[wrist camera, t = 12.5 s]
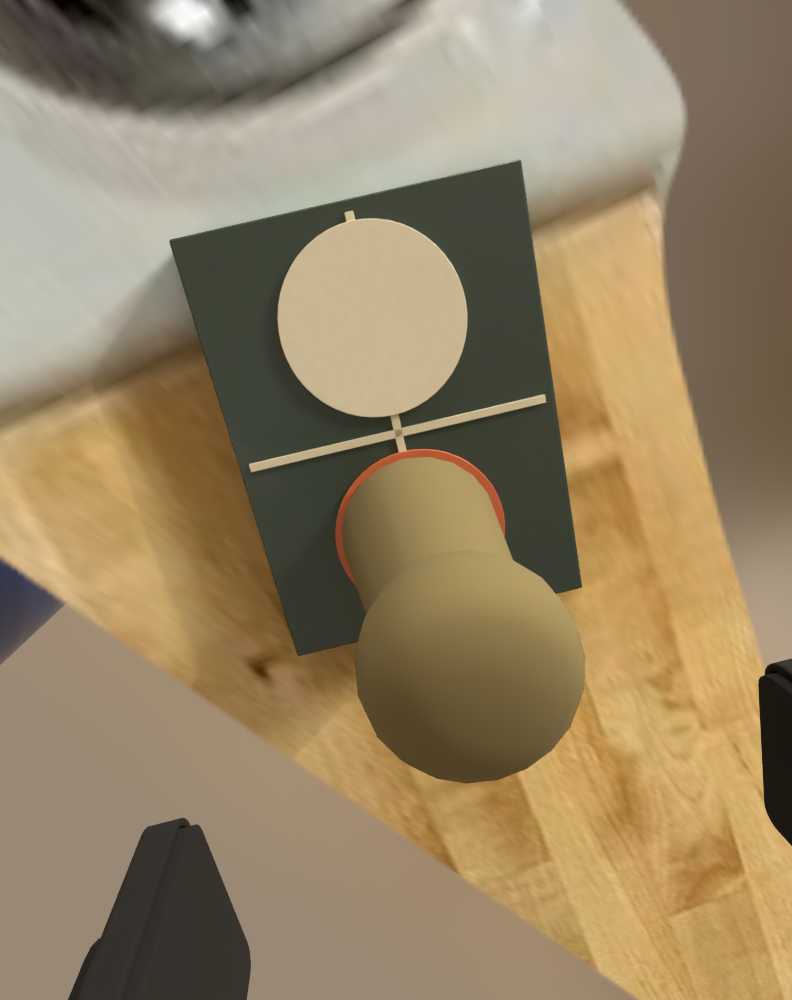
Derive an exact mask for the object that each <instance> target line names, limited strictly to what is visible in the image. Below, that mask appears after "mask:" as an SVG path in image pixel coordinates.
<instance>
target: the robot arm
mask: <svg viewBox="0 0 792 1000" xmlns="http://www.w3.org/2000/svg"><path fill="white" fill-rule="evenodd" d="M758 686H759V706H760V725H761V745H762V765H763V785H764V803H765V808H766V811H767V814H768V816H769V818H770V820H771V822H772V823H773V825H774V826H775V828H776V829H777V830H778V831H779V832H780V833H781V835H782V836H783V837H784V838H785V839H786V840H787V841H788V842H789V843H790V844H791V846H792V659H788V660H784V661H780V662H777V663H773V664H770V665H768V666H767V668H766V669H765V676H762V677H760V679H759V684H758ZM250 969H251V960H250V951H249V946H248V943H247V940H246V938H245V935H244V933H243V930H242V928H241V925H240V923H239V920H238V918H237V916H236V913H235V911H234V908H233V906H232V903H231V901H230V898H229V896H228V893H227V891H226V888H225V886H224V883H223V881H222V878H221V876H220V873H219V871H218V868H217V866H216V863H215V861H214V858H213V856H212V853H211V851H210V849H209V846H208V843H207V841H206V839H205V836H204V834H203V831H202V829H201V827H200V826H199V825H193V826H191V825H190V824H189V822H188V821H187V820H186V819H185V818H180V819H176V820H172V821H169V822H165V823H161V824H157V825H153V826H149V827H147V828H146V829H145V830H144V832H143V834H142V835H141V838H140V840H139V843H138V845H137V848H136V850H135V853H134V856H133V858H132V861H131V863H130V865H129V868H128V871H127V873H126V876H125V878H124V881H123V883H122V886H121V889H120V891H119V893H118V896H117V899H116V901H115V903H114V906H113V908H112V911H111V913H110V916H109V918H108V921H107V924H106V926H105V929H104V931H103V934H102V936H101V938H100V939H98V940H97V941H96V942H95V943H94V944H93V945H92V947H91V948H90V950H89V952H88V954H87V956H86V958H85V960H84V962H83V965H82V967H81V970H80V972H79V975H78V977H77V979H76V982H75V984H74V987H73V989H72V992H71V994H70V996H69V999H68V1000H247V993H248V986H249V978H250Z"/></svg>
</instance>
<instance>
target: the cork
mask: <svg viewBox="0 0 792 1000" xmlns="http://www.w3.org/2000/svg"><path fill="white" fill-rule="evenodd" d="M341 530H342V541H343V552H344V554H345V557H346V560H347V563H348V565H349V568H350V571H351V574H352V576H353V579H354V582H355V585H356V587H357V590H358V593H359V596H360V598H361V601H362V604H363V607H364V609H365V612H366V617H365V619H364V621H363V625H362V628H361V632H360V636H359V640H358V643H357V647H356V652H355V666H356V677H357V688H358V697H359V699H360V701H361V703H362V706H363V708H364V710H365V712H366V714H367V716H368V718H369V720H370V722H371V724H372V726H373V729H374V731H375V733H376V735H377V737H378V738H379V739H380V740H381V741H382V742H383V743H384V744H385V745H386V746H387V747H388V748H389V749H390V750H391V751H392V752H393V753H394V754H395V755H396V756H397V757H398V758H399V759H401V760H402V761H404V762H405V763H407V764H408V765H410V766H412V767H414V768H416V769H418V770H420V771H422V772H424V773H426V774H428V775H430V776H433V777H435V778H437V779H443V780H449V781H455V782H461V783H474V782H483V781H492V780H498V779H501V778H504V777H506V776H509V775H511V774H514V773H517V772H519V771H522V770H524V769H527V768H528V767H530V766H531V765H532V764H534V763H535V762H536V761H538V760H539V759H541V758H542V757H543V756H545V755H546V754H547V753H549V752H550V751H551V750H552V749H553V748H554V747H555V745H556V744H557V743H558V742H559V740H560V739H561V738H562V737H563V735H564V734H565V733H566V732H567V730H568V729H569V728H570V726H571V723H572V720H573V718H574V715H575V713H576V710H577V707H578V705H579V702H580V700H581V696H582V693H583V690H584V678H585V654H584V651H583V647H582V644H581V640H580V637H579V634H578V631H577V629H576V626H575V623H574V620H573V617H572V614H571V612H570V611H569V610H568V608H567V607H566V606H565V605H564V603H563V602H562V601H561V600H560V599H559V597H558V596H557V595H556V594H555V592H554V591H553V590H552V589H551V588H550V586H549V585H548V584H547V583H546V582H545V581H544V579H543V578H542V577H540V576H539V575H537V574H535V573H534V572H532V571H530V570H529V569H527V568H525V567H524V566H522V565H520V564H519V563H517V562H515V561H513V559H512V556H511V553H510V551H509V548H508V545H507V543H506V540H505V537H504V535H503V532H502V529H501V527H500V524H499V522H498V519H497V516H496V514H495V511H494V508H493V506H492V503H491V500H490V498H489V495H488V493H487V492H486V491H485V489H484V488H483V487H482V486H481V484H480V483H479V482H478V481H477V479H476V478H475V477H474V476H473V475H472V474H470V473H469V472H467V471H465V470H464V469H462V468H461V467H459V466H457V465H456V464H454V463H452V462H448V461H444V460H440V459H436V458H432V457H419V458H405V459H401V460H399V461H396V462H394V463H391V464H389V465H386V466H384V467H381V468H379V469H378V470H377V471H376V472H374V473H373V474H372V475H371V476H370V477H368V478H367V479H366V480H365V481H364V482H362V483H361V484H360V485H359V487H358V489H357V490H356V492H355V493H354V495H353V497H352V498H351V500H350V501H349V503H348V504H347V507H346V512H345V516H344V520H343V524H342V528H341Z"/></svg>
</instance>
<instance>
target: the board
mask: <svg viewBox="0 0 792 1000" xmlns="http://www.w3.org/2000/svg"><path fill="white" fill-rule="evenodd" d="M169 242H170V245H171V248H172V252H173V255H174V258H175V261H176V265H177V268H178V271H179V274H180V278H181V281H182V284H183V287H184V290H185V294H186V297H187V300H188V303H189V307H190V310H191V313H192V316H193V320H194V323H195V326H196V329H197V332H198V336H199V339H200V342H201V345H202V349H203V352H204V355H205V358H206V362H207V365H208V368H209V371H210V374H211V378H212V381H213V384H214V387H215V391H216V394H217V397H218V400H219V404H220V407H221V410H222V413H223V416H224V420H225V423H226V426H227V429H228V433H229V436H230V439H231V442H232V445H233V449H234V452H235V455H236V458H237V462H238V465H239V468H240V471H241V475H242V478H243V481H244V484H245V487H246V491H247V494H248V497H249V500H250V504H251V507H252V510H253V513H254V517H255V520H256V523H257V526H258V529H259V533H260V536H261V539H262V542H263V546H264V549H265V552H266V555H267V559H268V562H269V565H270V568H271V571H272V575H273V578H274V581H275V584H276V588H277V591H278V594H279V597H280V600H281V604H282V607H283V610H284V613H285V617H286V620H287V623H288V626H289V630H290V633H291V636H292V639H293V642H294V646H295V649H296V652H297V655H298V656H301V655H305V654H309V653H313V652H318V651H322V650H326V649H330V648H334V647H338V646H342V645H346V644H351V643H355V642H358V640H359V636H360V632H361V628H362V625H363V621H364V619H365V617H366V612H365V609H364V607H363V604H362V601H361V598H360V596H359V593H358V590H357V587H356V585H355V582H354V579H353V576H352V574H351V571H350V568H349V565H348V563H347V560H346V557H345V554H344V552H343V541H342V530H341V528H342V524H343V520H344V516H345V512H346V507H347V504H348V503H349V501H350V500H351V498H352V497H353V495H354V493H355V492H356V490H357V489H358V487H359V485H360V484H361V483H362V482H364V481H365V480H366V479H367V478H368V477H370V476H371V475H372V474H373V473H374V472H376V471H377V470H378V469H379V468H381V467H384V466H386V465H389V464H391V463H394V462H396V461H399V460H401V459H405V458H419V457H432V458H436V459H440V460H444V461H448V462H452V463H454V464H456V465H457V466H459V467H461V468H462V469H464V470H465V471H467V472H469V473H470V474H472V475H473V476H474V477H475V478H476V479H477V481H478V482H479V483H480V484H481V486H482V487H483V488H484V489H485V491H486V492H487V493H488V495H489V498H490V500H491V503H492V506H493V508H494V511H495V514H496V516H497V519H498V522H499V524H500V527H501V529H502V532H503V535H504V537H505V540H506V543H507V545H508V548H509V551H510V553H511V556H512V559H513V561H515V562H517V563H519V564H520V565H522V566H524V567H525V568H527V569H529V570H530V571H532V572H534V573H535V574H537V575H539V576H540V577H542V578H543V579H544V581H545V582H546V583H547V584H548V585H549V586H550V588H551V589H552V590H553V591H554V592H555V594H557V593H561V592H565V591H569V590H573V589H578V588H581V587H582V583H581V576H580V569H579V562H578V555H577V548H576V541H575V534H574V527H573V520H572V513H571V506H570V499H569V492H568V485H567V478H566V471H565V464H564V457H563V450H562V443H561V436H560V429H559V422H558V415H557V408H556V401H555V394H554V387H553V380H552V373H551V366H550V359H549V352H548V345H547V338H546V331H545V324H544V317H543V310H542V303H541V296H540V289H539V282H538V275H537V268H536V261H535V254H534V247H533V240H532V233H531V227H530V220H529V213H528V206H527V199H526V192H525V185H524V178H523V171H522V164H521V160H516V161H512V162H507V163H503V164H498V165H494V166H490V167H485V168H481V169H477V170H472V171H468V172H464V173H459V174H455V175H451V176H446V177H442V178H437V179H433V180H429V181H424V182H420V183H416V184H411V185H407V186H403V187H398V188H394V189H389V190H385V191H381V192H376V193H372V194H368V195H363V196H359V197H355V198H350V199H346V200H341V201H337V202H333V203H328V204H324V205H320V206H315V207H311V208H307V209H302V210H298V211H294V212H289V213H285V214H280V215H276V216H272V217H267V218H263V219H259V220H254V221H250V222H246V223H241V224H237V225H232V226H228V227H224V228H219V229H215V230H211V231H206V232H202V233H198V234H193V235H189V236H184V237H180V238H176V239H171V240H170V241H169Z"/></svg>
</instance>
